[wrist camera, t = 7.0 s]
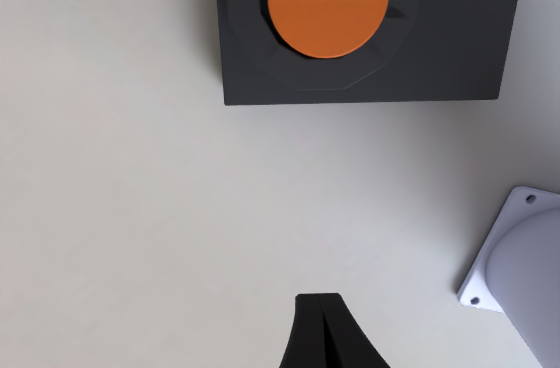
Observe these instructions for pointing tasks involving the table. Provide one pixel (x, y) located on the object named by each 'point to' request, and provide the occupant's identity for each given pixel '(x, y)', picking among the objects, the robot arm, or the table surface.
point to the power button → (326, 24)
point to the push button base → (370, 56)
